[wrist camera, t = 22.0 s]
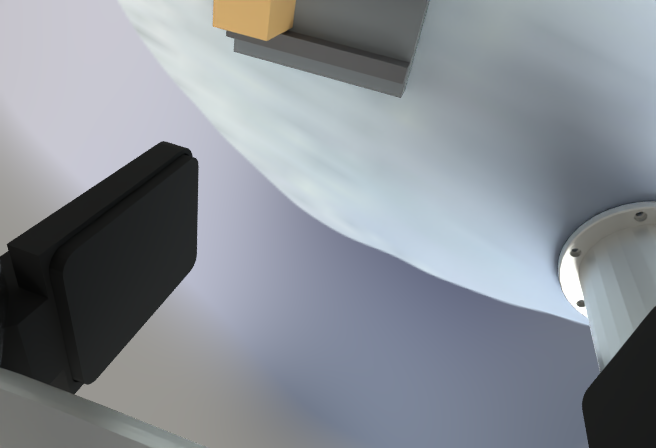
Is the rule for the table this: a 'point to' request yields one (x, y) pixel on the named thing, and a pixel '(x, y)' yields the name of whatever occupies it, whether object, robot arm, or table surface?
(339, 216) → the table surface
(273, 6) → the tan orange cube block
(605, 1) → the table surface
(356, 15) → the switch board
